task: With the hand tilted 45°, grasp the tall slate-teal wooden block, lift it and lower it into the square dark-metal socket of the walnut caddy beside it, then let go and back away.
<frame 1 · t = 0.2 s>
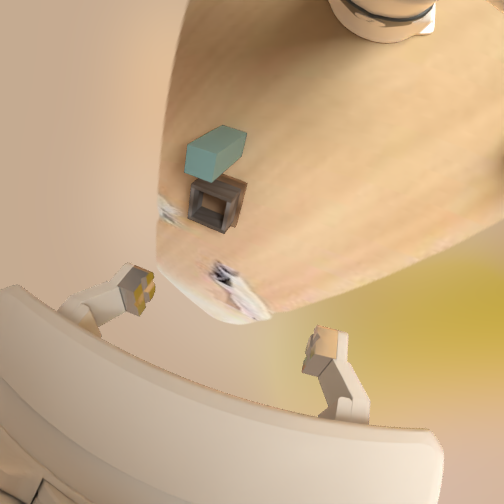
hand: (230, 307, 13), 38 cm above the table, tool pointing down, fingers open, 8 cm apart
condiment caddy: (220, 196, 57), on the table
teal block: (231, 140, 48), on the table
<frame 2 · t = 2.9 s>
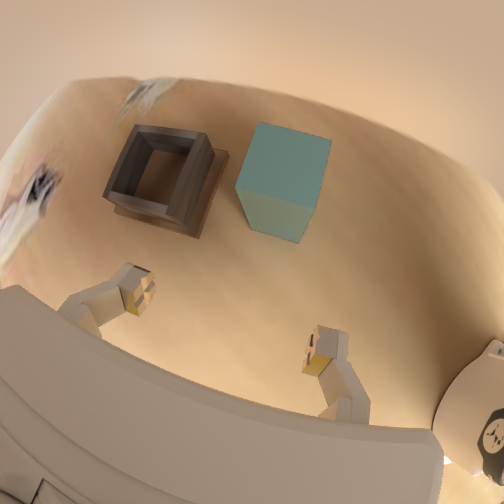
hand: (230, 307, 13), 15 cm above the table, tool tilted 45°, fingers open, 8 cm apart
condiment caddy: (170, 184, 30), on the table
teal block: (281, 213, 28), on the table
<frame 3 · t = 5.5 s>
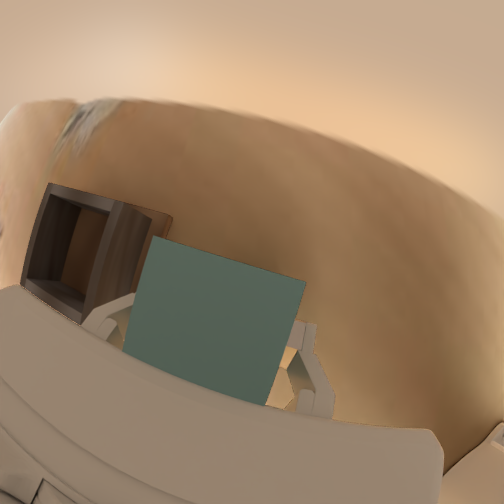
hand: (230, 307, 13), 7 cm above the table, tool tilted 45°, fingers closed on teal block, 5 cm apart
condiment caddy: (102, 257, 21), on the table
teal block: (243, 308, 20), on the table, touching gripper
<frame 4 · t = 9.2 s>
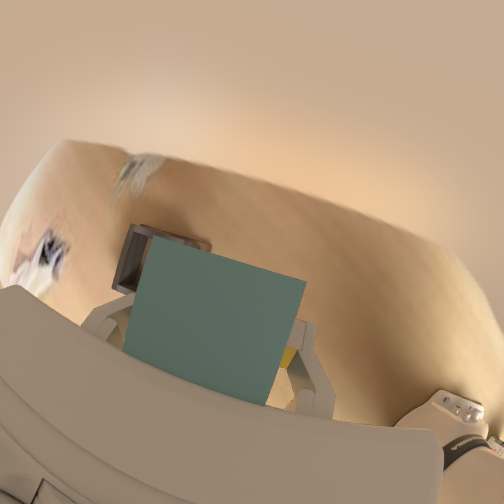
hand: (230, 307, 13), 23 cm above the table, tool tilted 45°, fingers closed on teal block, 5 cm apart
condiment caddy: (165, 269, 36), on the table
teal block: (243, 308, 20), point 15 cm above the table, touching gripper
syrup box: (487, 448, 27), on the table
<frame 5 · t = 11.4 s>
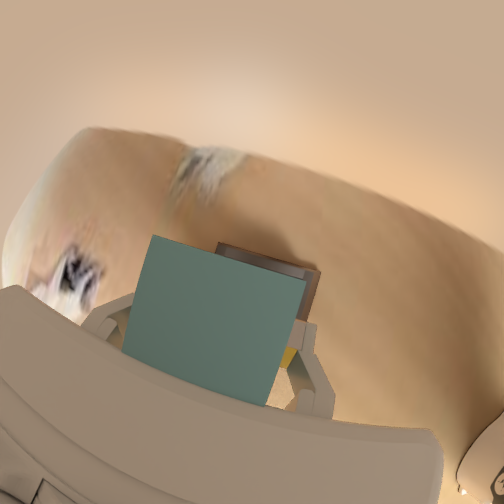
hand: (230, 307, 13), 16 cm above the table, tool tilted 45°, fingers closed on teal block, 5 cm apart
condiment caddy: (255, 303, 28), on the table
teal block: (243, 308, 20), point 9 cm above the table, touching gripper
when the fingers open (9 cm above the table, at t = 13.2 s): teal block stays where it is, resting on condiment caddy.
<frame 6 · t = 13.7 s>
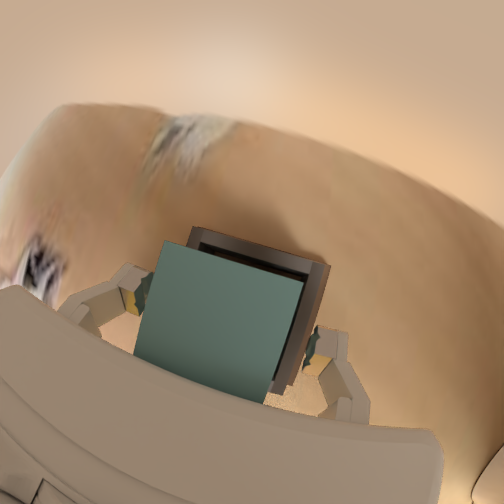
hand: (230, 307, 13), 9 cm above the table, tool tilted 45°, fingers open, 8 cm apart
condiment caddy: (245, 306, 22), on the table
teal block: (245, 307, 21), point 1 cm above the table, touching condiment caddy
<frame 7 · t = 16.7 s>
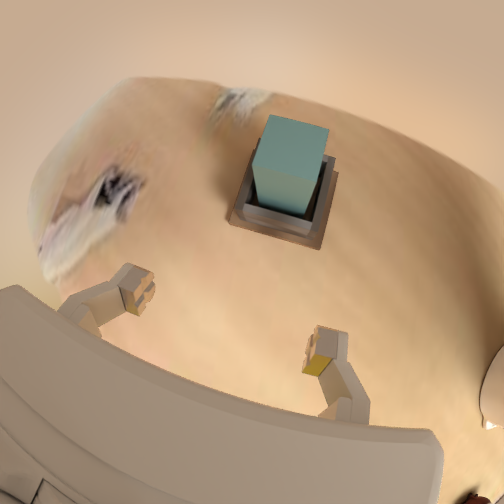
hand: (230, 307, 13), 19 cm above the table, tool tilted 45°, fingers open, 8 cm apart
mate gourd: (465, 501, 22), on the table
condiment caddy: (285, 198, 33), on the table
teal block: (286, 195, 32), point 1 cm above the table, touching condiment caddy
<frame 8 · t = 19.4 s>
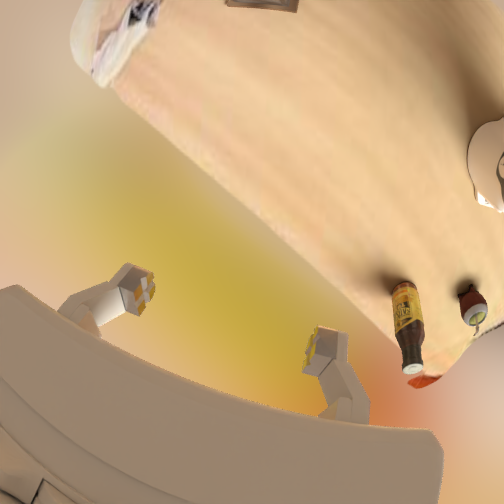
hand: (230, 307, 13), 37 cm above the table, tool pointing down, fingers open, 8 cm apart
mate gourd: (466, 292, 49), on the table
sauce bottle: (403, 291, 54), on the table
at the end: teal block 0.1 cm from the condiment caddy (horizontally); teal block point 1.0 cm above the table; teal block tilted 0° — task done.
